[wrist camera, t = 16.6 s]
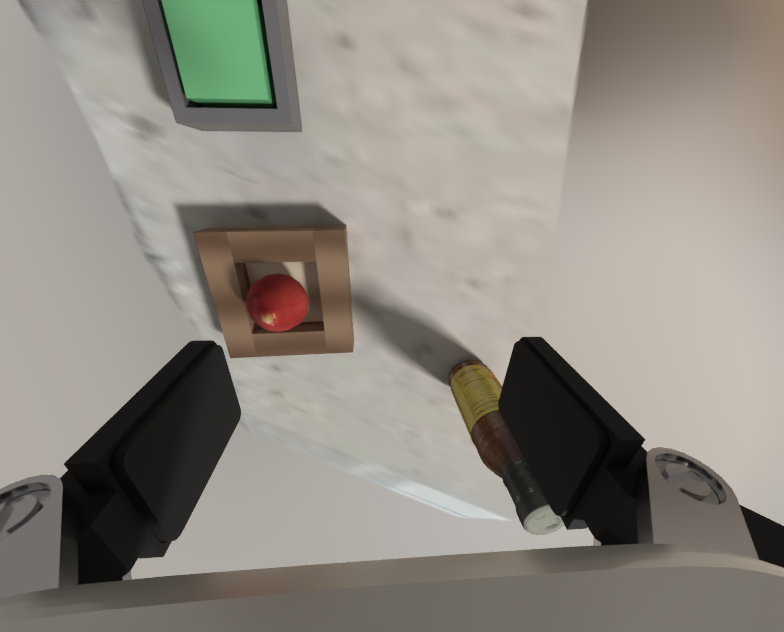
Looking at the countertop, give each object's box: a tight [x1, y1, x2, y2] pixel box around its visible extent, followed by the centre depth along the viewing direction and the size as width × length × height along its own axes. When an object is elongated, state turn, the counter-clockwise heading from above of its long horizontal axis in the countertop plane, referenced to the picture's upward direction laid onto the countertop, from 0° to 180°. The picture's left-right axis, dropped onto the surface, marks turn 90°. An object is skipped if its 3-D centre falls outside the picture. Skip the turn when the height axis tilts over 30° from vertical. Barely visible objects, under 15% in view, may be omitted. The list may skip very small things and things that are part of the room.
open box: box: [193, 225, 354, 358], centre depth 31 cm, size 14×14×4 cm
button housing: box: [142, 0, 302, 132], centre depth 22 cm, size 9×9×4 cm
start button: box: [161, 0, 278, 109], centre depth 22 cm, size 6×6×3 cm
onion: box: [246, 273, 309, 332], centre depth 28 cm, size 6×6×8 cm
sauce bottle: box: [449, 361, 564, 535], centre depth 32 cm, size 7×6×20 cm
